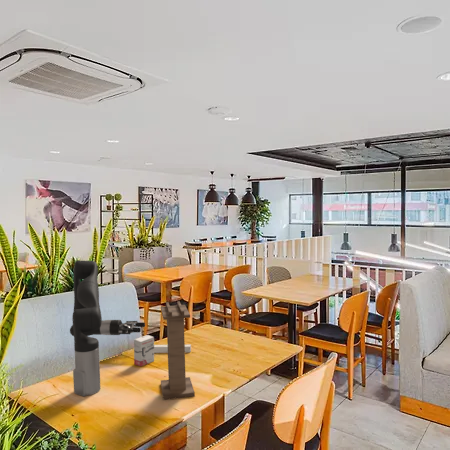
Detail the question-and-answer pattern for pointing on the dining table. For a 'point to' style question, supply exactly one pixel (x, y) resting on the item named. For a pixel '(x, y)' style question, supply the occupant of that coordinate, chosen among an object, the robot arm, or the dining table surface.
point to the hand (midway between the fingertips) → (142, 327)
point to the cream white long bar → (165, 348)
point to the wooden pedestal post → (176, 353)
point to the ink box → (143, 350)
